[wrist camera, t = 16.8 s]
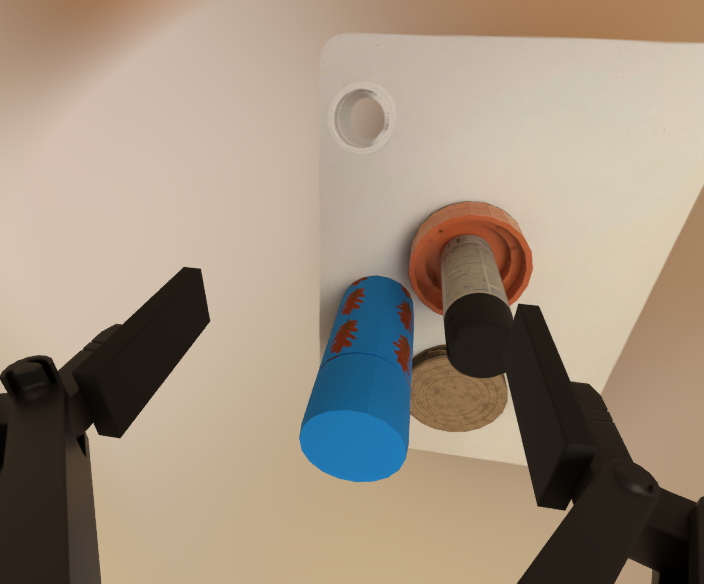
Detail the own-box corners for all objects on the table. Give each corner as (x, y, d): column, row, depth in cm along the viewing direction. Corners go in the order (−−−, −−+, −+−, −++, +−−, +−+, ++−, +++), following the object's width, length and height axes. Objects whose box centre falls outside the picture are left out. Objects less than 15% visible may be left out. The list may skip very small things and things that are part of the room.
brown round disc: (523, 363, 62) (527, 377, 60) (478, 428, 71) (480, 443, 68) (423, 331, 62) (423, 343, 59) (390, 400, 70) (388, 414, 68)
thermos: (389, 262, 57) (368, 393, 36) (428, 318, 61) (429, 467, 40) (327, 295, 61) (275, 429, 40) (367, 345, 65) (338, 492, 44)
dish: (417, 195, 51) (416, 209, 47) (537, 205, 50) (547, 221, 46) (405, 293, 59) (403, 313, 55) (509, 304, 57) (515, 326, 53)
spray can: (433, 271, 56) (436, 372, 39) (448, 226, 52) (458, 315, 35) (482, 283, 56) (506, 389, 39) (500, 238, 52) (535, 333, 35)
